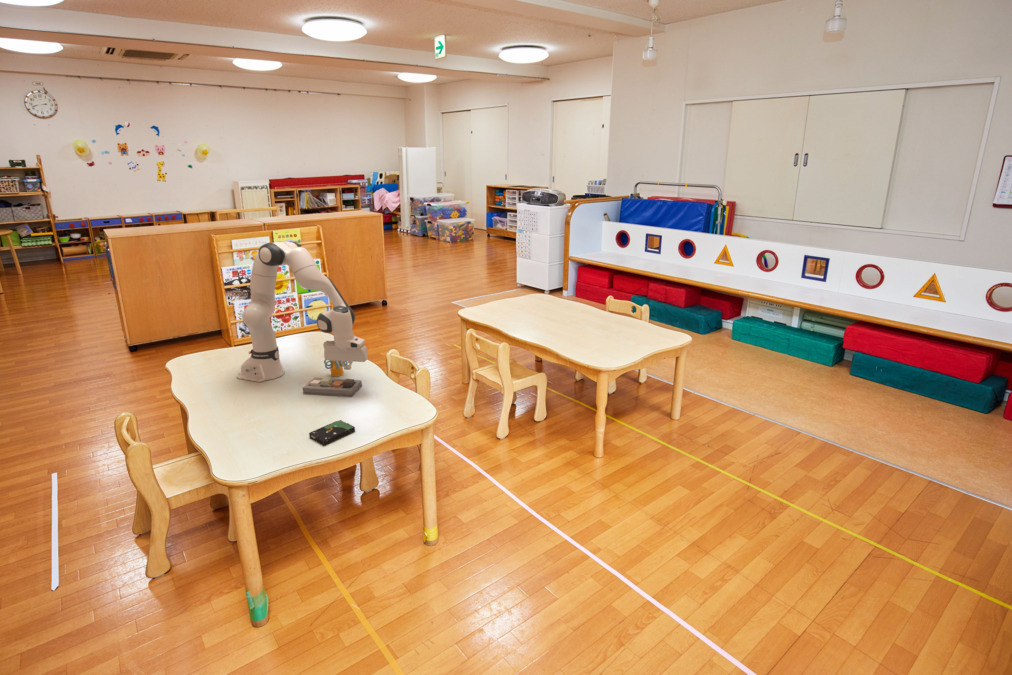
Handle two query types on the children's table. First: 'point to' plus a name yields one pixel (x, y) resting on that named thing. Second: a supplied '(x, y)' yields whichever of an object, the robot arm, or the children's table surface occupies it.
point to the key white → (315, 382)
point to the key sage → (326, 381)
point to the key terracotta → (337, 384)
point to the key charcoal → (348, 383)
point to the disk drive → (332, 432)
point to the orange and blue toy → (335, 367)
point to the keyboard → (332, 388)
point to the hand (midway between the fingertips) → (347, 369)
